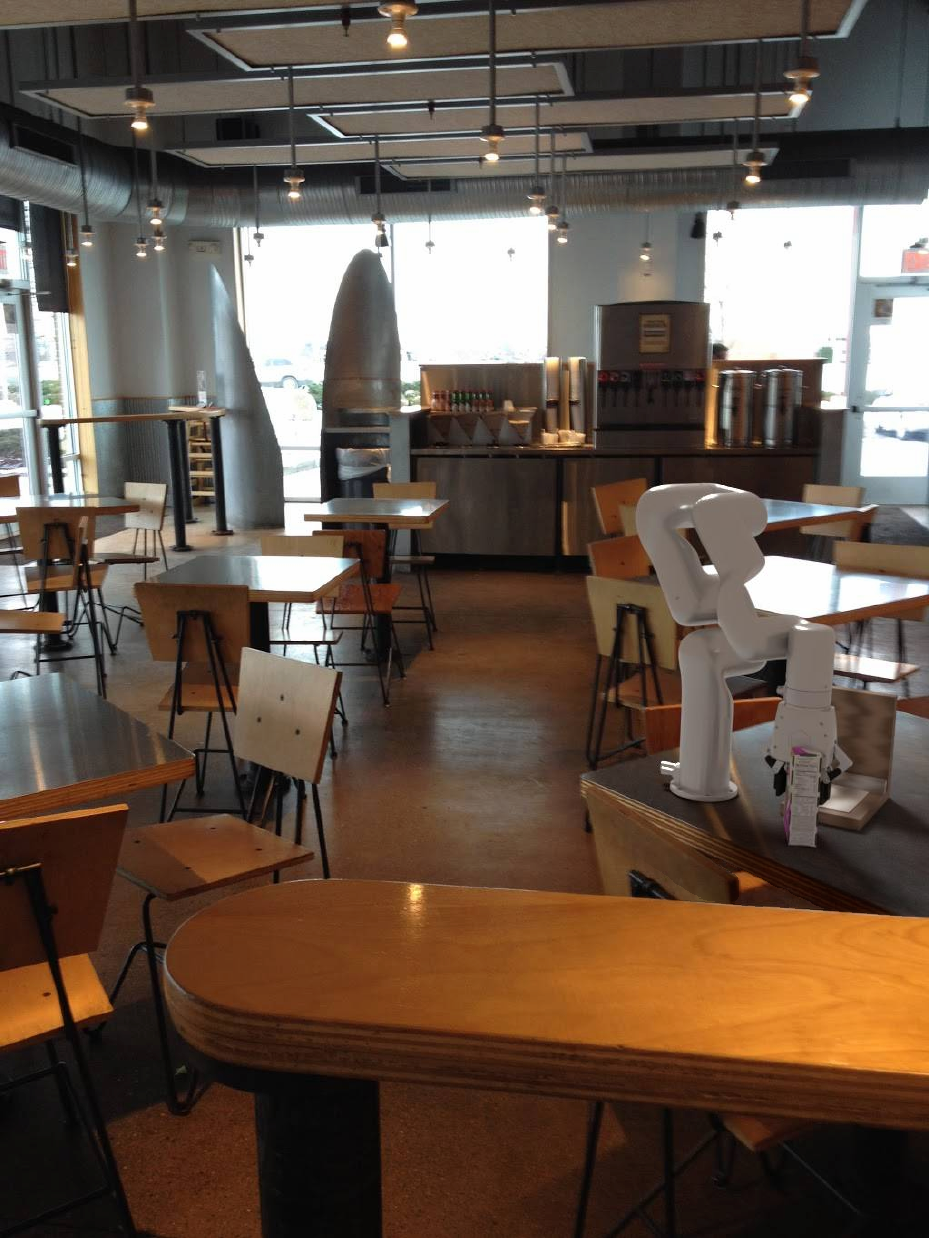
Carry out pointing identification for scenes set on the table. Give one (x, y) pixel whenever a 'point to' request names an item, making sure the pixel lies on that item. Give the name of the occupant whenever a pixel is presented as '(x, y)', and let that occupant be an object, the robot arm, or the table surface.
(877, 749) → the display stand
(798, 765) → the candy bar box
